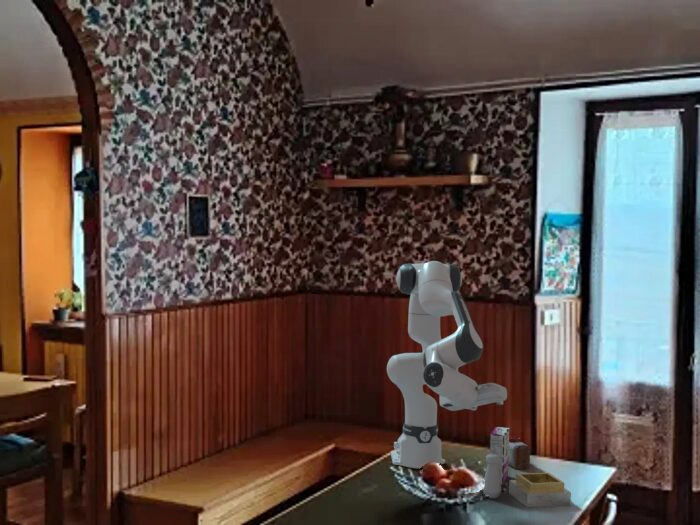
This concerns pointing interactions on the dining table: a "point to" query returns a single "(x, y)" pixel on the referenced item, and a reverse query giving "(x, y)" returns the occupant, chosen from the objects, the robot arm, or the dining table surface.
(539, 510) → the dining table surface
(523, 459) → the food item
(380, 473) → the dining table surface
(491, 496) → the salt shaker
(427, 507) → the dining table surface
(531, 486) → the yellow and grey tray
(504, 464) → the candy bar box
